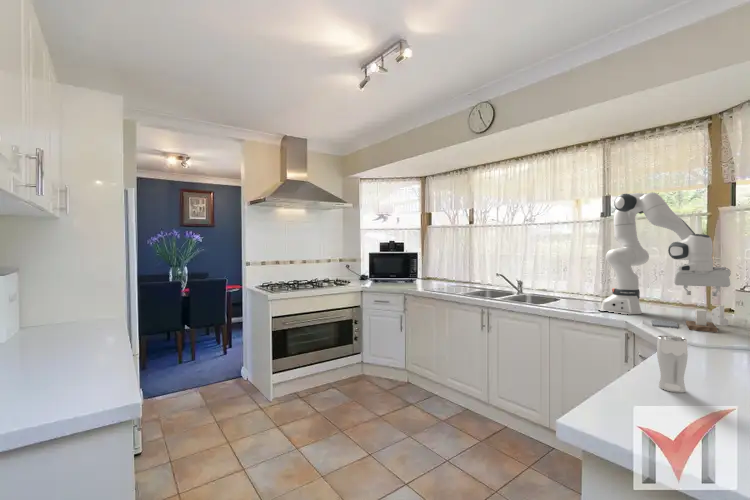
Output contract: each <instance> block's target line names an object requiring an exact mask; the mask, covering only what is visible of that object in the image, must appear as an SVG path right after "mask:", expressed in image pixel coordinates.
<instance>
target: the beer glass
mask: <svg viewBox="0 0 750 500" xmlns="http://www.w3.org/2000/svg"><path fill="white" fill-rule="evenodd" d="M656 341H657V343H656V357H657V362H658V366H659V372H660V379H659V383H658V387H659V389H661V390H663V389H664V390H663V391H665V390H667V391H666V392H669V391H670V392H669V393H674V392H675V394H685V393H686V391H687V389H686V386H685V374H686V373H685V372H686V368H687V365H688V358H689V357H688V355H689V353H688V351H689V350H688V344H687V341H688V340H687V339H686V338H684V337H681V336H675V335H665V334H664V335H662V334H661V335H658V336H657V340H656Z"/></svg>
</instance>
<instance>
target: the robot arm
mask: <svg viewBox="0 0 750 500" xmlns="http://www.w3.org/2000/svg"><path fill="white" fill-rule="evenodd" d="M613 204H614V205H613V206H614V207H615V211H614V214H613V234H614V236H613V237H614V240H616V241H617V242H618V243H619V244H620V245H621V247H616V248H613V249H609V250H608V251H607V252H606V254H605V261H606V262H607V264H608V265H610V266H611V268H612V270H613V271H614V274H615V283H616V285H615V287H616V288H614V287H613V288H612V289H611V292H612V294H610V295H609V296H608V297H606V298H604V299H603V300H602V303H601V306H600V307H601V309H602V310H607V311H609V312H614V313H613V314H618V313H621V314H620V315H627V314H628V316H629V315H640V314H643V311H642V309H641V304H640V303H641V302H640V298H641V293H640V289H639V276H638V274H637V273H636V272H634V270H633V269H632V267H635V266H641V265H644V264H647V262H648V261H649V258H650V256H649V252H648V251H647V250H646V249H645V248H643V246H642V245H641V243H640V241H639V238H638V232H637V225H636V224H637V223H636V217H637V214H640V215H642V214H644V216H645V217H646V219H647V221H649V223H650V224H652V225H653V226H656V227H658V228H659V227H661V228H664V229H667V230H669V231H673V232H674V233H675V234H676V235H677V236H678V237H679V238H680V239H681V240H677V241H673V242H672V243H671V244H670V245H669V246H668V250H667V252H668V254H669V257H670V258H671V259H673V260H678V261H688V263H686V264H685V263H684V264H681V265H678V266H677V268H676V269H677V270H676V272H675V273H674V278H673V279H674V280H673V281H674V282H673V283H674V285H676V286H683V289H684V290H685V291H686V296H691V294H692V292H691V291H690V290H688V286H689V287H691V286H692V287H714V288H715V290H714V291H712V292H711V295H712V297H717V296H718V292H719V291H720V290H721V288H722V287H723V288H729V287H730V286H731V280H730V279H731V278H730V276H731V270H730V269H729V268H727V267H725V266H724V267H719V266H718V267H717V266H714V260H713V259H714V258H713V253H714V250H713V240H712V238H711V236H710V235H708V234H703V233H695V232H694V231H693V230H692V228H691V227H690V226H689V225H688V224H687V223H686V222H685V220H683V219H682V218H681V217H679V216H678V214H676V213H675V212H674V211H673V209H671V207H670V206H669V205H668V203H667V202H666V201H665V200H664V199H663V198H662V196H661V195H659V194H658V193H656V192H648V193H647V192H646V193H645V192H644V193H642V192H633V193H622V194H619V195H617V196H615V199H614V203H613Z"/></svg>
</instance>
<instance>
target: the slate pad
mask: <svg viewBox="0 0 750 500" xmlns="http://www.w3.org/2000/svg"><path fill="white" fill-rule="evenodd" d="M651 325H652V327H660V328H661V327H662V328H669V327H671V329H673V328H674V329H679V326H678V323H677V322H676V321H667V320H653V319H652V320H651Z"/></svg>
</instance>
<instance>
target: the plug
mask: <svg viewBox="0 0 750 500" xmlns="http://www.w3.org/2000/svg"><path fill="white" fill-rule="evenodd" d="M694 309H695V311H694V312H695V317H694V318H695V320H694V321H695V325H705V326H707V322H708V320H707V310H706V309H704V308H694Z"/></svg>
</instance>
